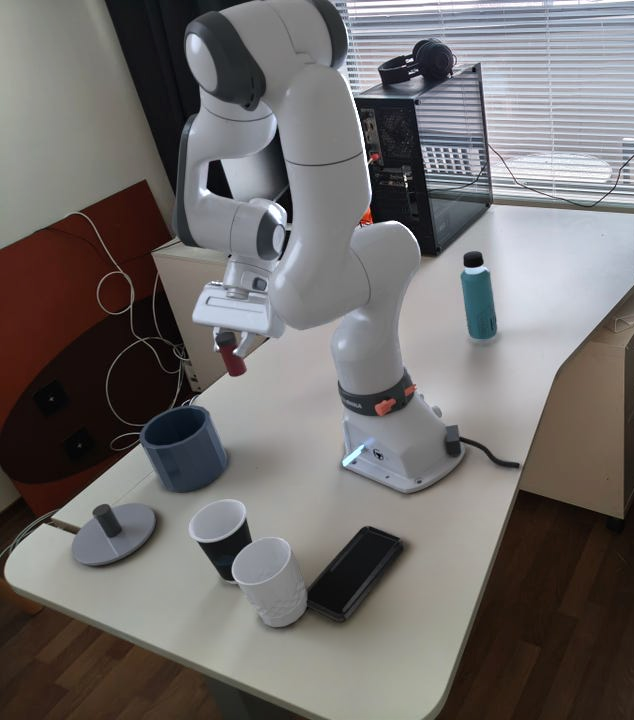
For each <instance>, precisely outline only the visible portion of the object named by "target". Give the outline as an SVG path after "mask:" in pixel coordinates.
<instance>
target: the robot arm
mask: <svg viewBox="0 0 634 720" xmlns="http://www.w3.org/2000/svg"><path fill="white" fill-rule="evenodd" d="M183 49H184V50H183V51H184V55H185V59H186V62H187V65H188V67H189V70H190V72H191V74H192V77H193V78H194V80H195V81H196V83H197V84H198V86H199V97H200V98H199V99H200V108H199V112H198V113H194V114H191V115H190V116H189V117H188V118H187V120H186V122H185V124H184V125H183V128H182V132H181V135H180V136H181V137H180V142H179V149H178V158H177V159H178V160H177V161H178V162H177V175H176V176H177V177H176V193H175V199H174V200H175V201H174V206H173V211H172V216H171V228H172V231H173V232H174V234H175V236H176V237H177V238H178V239H179V241H180V242H181V243H182V244H183V245H184V246H185V247H191V248H198V249H203V250H206V249H207V250H211V251H216V252H219V253H224V254H227V255H231V256H230V258H228V261H227V265H226V268H225V272H224V276H223V280H216V279H213V280H211V281H210V282H207V284H205V285H204V287H203V289H202V291H201V292H200V294H199V296H198V298H197V301H196V303H195V305H194V308H193V312H192V314H191V318H192V323H193V324H196V325H199V326H201V327H205V328H209V329H213V331H212V335H213V340H214V346H213V349H212V350H213V352H214V353H217V354H221V352H220V350H219V347H218V346H217V344H216V341H215V338H216V336H218V335H219V334H221V333H224V332H234V333H240V334H241V335H240V337H241V338H242V339H241V340H240V342H239V343H238V346H234V351H233V355H235V356H238V357H243V358H245V357H246V354H247V350H248V349H249V347H250V346H251V345H252V344H253V343H254V341H255V338H256V336H258V337H265V338H271V339H277V340H278V339H280V338H281V337H282V336H283V335H284V334H285V332H286V329H287V326H288V327H290V328H292V329H294V330H297V331H305V330H310V329H314V328H319V327H321V326H325V325H328V324H331V323H333V322H335V321H337V320H339V319H341V318H342V317H343V318H342V320H341V321H340V322H339V324H338V325H337V327H336V328H335V330H334V332H333V333H332V336H331V340H330V353H331V356H332V360H333V363H334V368H335V371H336V375H337V391H338V395H339V397H340V400H341V403H342V405H343V415H342V420H341V430H342V436H343V442H344V448H345V454H344V456H343V459H342V465H343V468H345V469H347V470H349V471H351V472H353V473H356V474H358V475H360V476H363V477H365V478H367V479H370V480H372V481H374V482H377V483H380V484H382V485H383V486H385V487H389V488H391V489H393V490H395V491H398V492H400V493H402V494H403V493H404V494H407V495H408V494H412V493H416V492H419V491H421V490H424V489H426V488H428V487H429V486H432V485H434V484H435V483H437V482H438V481H440V480H441V479H443V478H444V477H446V476H447V475H448V474H450V473H451V471H453V470H454V469H455V468H456V467H457V466H458V465H459V464H460V463H461V461H463V458H464V457H465V454H466V448H465V445H464V444H466V445H469V446H471V447H475V448H476V449H479V450H481V451H482V452H483V453H484V454H485V455H486V457H488V459H489V460H490V462H492V463H494V464H496V465H498V466H500V467H503V468H504V467H505V468H513V469H520V465H521V464H520V463H519V462H517V461H515V462H514V461H507V460H502V459H499V458H497V457H496V456H495V455H494V454H493V453H492V452H491V451H490V449H489V447H487V446H485V445H484V444H482V443H480V442H478V441H475V440H473V439H470V438H467V437H464V436H460V431H459V426H458V424H453V425H445V423H444V422H443V421H442V420H441V418H442V417H443V412H442V410H441V408H440V407H439V406H438V405H434V406H430V405H429V404H428V402H426V400H425V396H424V394H423V393H422V392H419V393H418V392H417V389H418V388H417V387H416V386H417V384H416V383H414V382H413V380H412V378H411V377H412V376H411V375H410V372H409V371H408V369H407V367H406V365H405V364H404V362H403V356H402V351H401V344H400V337H399V336H400V335H399V325H400V324H399V323H400V315H401V310H402V306H403V304H404V303H403V302H404V300H405V296H406V294H407V290H408V288H409V286H410V285H411V284H410V283H411V282H412V280H413V279H414V277H415V275H416V274H417V272H418V271H419V269H420V266H421V260H422V259H421V258H422V257H421V256H422V255H421V249H420V245H419V242H418V240H417V238H416V236H415V235H414V234H413V232H412V231H411V230H410V229H409V228H408V227H406V226H405V224H402V223H401V222H398V221H395V220H388V221H382V222H377V223H371V224H365V225H364V226H362V227H359V228H357V226H358V225H359V223H360V221H361V220H362V219H363V217H365V215H366V214H367V211H368V210H369V208H370V205H371V203H372V196H373V195H372V194H373V193H372V192H373V191H372V186H371V179H370V172H369V166H368V158H367V153H366V152H367V151H366V146H365V145H366V144H365V140H364V134H363V130H362V125H361V121H360V116H359V113H358V110H357V107H356V103H355V100H354V97H353V94H352V91H351V88H350V85H349V83H348V81H347V79H346V77H345V76H344V75H343V74H342V73H341V72H340V71H339V69H341V68H342V67H343V66H344V64H345V62H346V61H347V58H348V53H349V35H348V29H347V26H346V24H345V20H344V19H343V17H342V15H341V14H340V12H339V10H338V8H337V7H336V6H335V5H334V4H333V3H332V2H331V1H330V0H251V1H246V2H243V3H239V4H237V5H236V4H235V5H233V6H230V7H227V8H225V9H222V10H220V11H215V10H211V11H208V12H206V13H204V14H202V15H199V16H197V17H196V18H195V19H193V20H191V21H190V22H189V23H187V26H186V28H185V32H184V38H183ZM277 129H278V133H279V138H280V145H281V150H282V153H283V154H282V155H283V159H284V162H285V168H286V173H287V178H288V184H289V190H290V194H291V202H292V223H291V229H290V234H289V237H288V238H289V239H288V242H287V244H286V248H285V250H284V249H283V248H284V245H285V241H286V237H287V220H288V213H287V211H286V210H285V208H283V207H282V205H280V204H279V203H277V202H275V201H273V200H271V199H268V198H265V197H264V198H263V197H254V198H252V199H250V200H249V201H248V202H246V201H240V200H237V199H233V198H229V197H224V196H220V195H217V194H215V193H213V192H212V191H210V190H209V189H208V188H207V185H208V184H207V183H208V173H209V165H210V162H213V161H219V160H231V159H232V160H233V159H234V160H235V159H244V158H246V157H250V156H253V155H256V154H257V153H259V152H261V151H262V150H264V149H265V148H266V147H267V146H268V145H270V143H271V142H272V140H273V139H274V137H275V134H276V131H277ZM283 250H284V253H283V255H282V252H283ZM281 255H282V257H281ZM280 257H281V259H280V260H279V258H280ZM278 260H279V262H278ZM277 262H278V264H277Z"/></svg>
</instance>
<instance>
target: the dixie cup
mask: <svg viewBox="0 0 634 720" xmlns="http://www.w3.org/2000/svg"><path fill="white" fill-rule="evenodd" d="M188 534H189V536H190V537H191V538H192V539H193V540H194V541H196V542H197V544H198V546H199V547H200V548H201V550H202V551H203V553H204V555H206V557H207V558H208V560H209V561H210V563H211V564H212V565H213V567H214V569H215V570H216V572H217V573H218V575H220V577H221V579H223V580H225V581H226V582H227V583H228V584H231V585H238V583H237V582H236V580H235V579H234V577H233V575H232V565H233V562H234V560H235V558H236V557H237V555H238V554H239V553H240V552H241V551H242V550H243V549H244V548H245V547H246V546H248V545H249V544H251V543H252V542H253V538H252V534H251V530H250V527H249V523H248V518H247V508H246V506H245V505H244V504H243V503H242V502H241V501H239V500H236V499H221V500H216V501H214V502H211V503H209V504H206V505H205V506H204V507H202V508H201V509H200V510H198V511H197V512H196V514H194V515H193V517H192V518H191V520H190V522H189V525H188Z"/></svg>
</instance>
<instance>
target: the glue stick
mask: <svg viewBox="0 0 634 720" xmlns="http://www.w3.org/2000/svg"><path fill="white" fill-rule="evenodd" d="M215 341H216V344H217V346H218V347H219V350H220V352H221V353H220V355H221V357H222V361H223V362H224V366H225V368H226V370H227V373H228V375H229V376H230V377H232V378H237V377H240V376H243V375H244V374H245V373H246V372H247V371H248V368H247V365H246V364H245V360H244V357H238V356H235V355H233V351H234V346H238V345H239V343H238V341H237V336H236V333H235V332H234V331H227V332H224V333H221V334H219V335H218V336H216V338H215V340H214V342H215Z"/></svg>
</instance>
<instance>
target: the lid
mask: <svg viewBox="0 0 634 720" xmlns="http://www.w3.org/2000/svg"><path fill="white" fill-rule="evenodd" d="M91 514H92V516H93V517H92V518H91V519H89V520H88V521H87V522H86V523H85V524H84V525H83V526H82V527H81V528H80V529H79V531H78V532H77V533H76V534H75V536H74V539H73V541H72V544H71V553H72V555H73V557H74V559H76V561H77V562H79V563H80V564H83V565H86V566H103V565H108V564H111V563H114V562H117V561H119V560H121V559H123V558H126V557H127V556H129V555H131V554H132V553H134V552H135V551H137V550H138V549H140V547H141V546H143V544H145V542H147V540H148V539H149V538H150V537H151V535H152V534H153V531H154V530H155V526H156V522H157V521H156V519H157V518H156V515H155V512H154V511H153V509H152V508H150V507H149V506H147V505H146V504H143V503H137V502H136V503H135V502H134V503H133V502H131V503H124V504H119V505H117V506H113V507H111V505H110V504H109V503H102V504H98V505H97V506H96V507H94V508H93V510H92V513H91Z"/></svg>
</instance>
